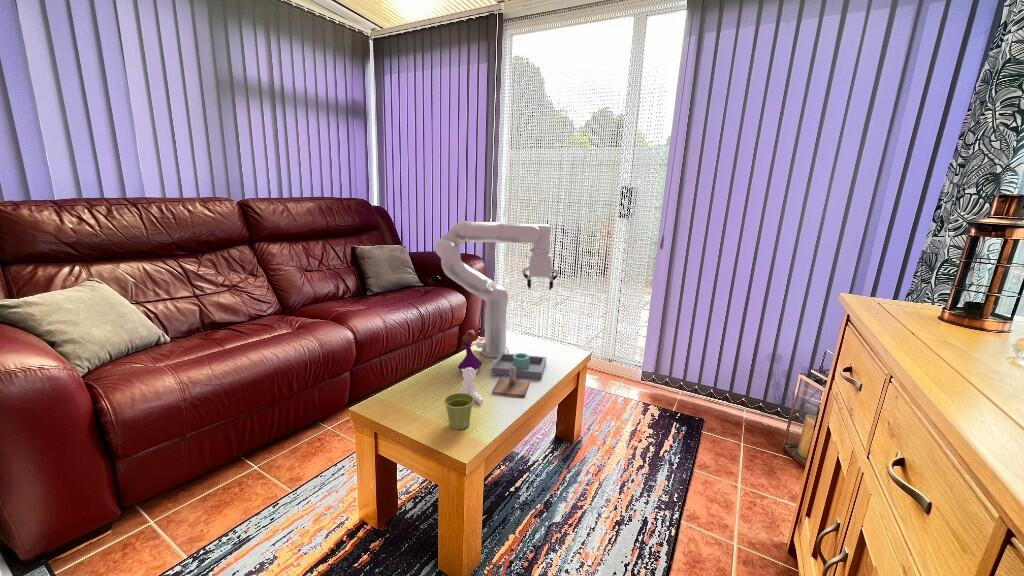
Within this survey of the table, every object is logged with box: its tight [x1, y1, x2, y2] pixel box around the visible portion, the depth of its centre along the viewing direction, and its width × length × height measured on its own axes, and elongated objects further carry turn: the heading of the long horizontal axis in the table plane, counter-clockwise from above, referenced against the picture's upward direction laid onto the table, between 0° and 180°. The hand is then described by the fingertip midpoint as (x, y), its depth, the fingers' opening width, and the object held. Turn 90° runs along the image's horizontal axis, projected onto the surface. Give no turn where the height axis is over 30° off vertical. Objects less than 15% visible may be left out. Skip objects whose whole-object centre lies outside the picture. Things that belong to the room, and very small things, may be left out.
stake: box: [491, 366, 531, 398], centre depth 154 cm, size 12×12×8 cm
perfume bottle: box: [457, 329, 483, 374], centre depth 166 cm, size 8×8×18 cm
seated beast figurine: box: [459, 367, 484, 406], centre depth 145 cm, size 10×9×12 cm
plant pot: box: [443, 392, 475, 430], centre depth 129 cm, size 9×9×9 cm
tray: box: [491, 353, 547, 381], centre depth 172 cm, size 20×16×3 cm
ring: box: [513, 352, 531, 370], centre depth 170 cm, size 7×8×6 cm
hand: (540, 288), depth 191 cm, fingers open, 9 cm apart
